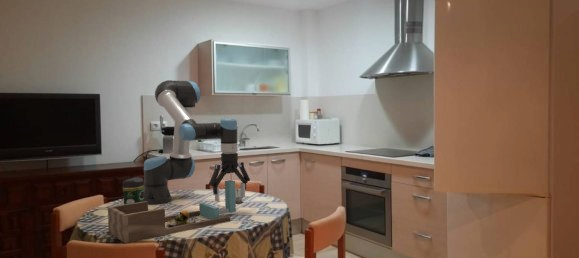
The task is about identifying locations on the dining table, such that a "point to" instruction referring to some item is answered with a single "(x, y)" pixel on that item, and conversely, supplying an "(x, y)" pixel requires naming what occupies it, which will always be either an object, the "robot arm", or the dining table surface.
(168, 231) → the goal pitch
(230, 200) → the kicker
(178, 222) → the burger
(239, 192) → the game die
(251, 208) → the dining table surface
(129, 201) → the coffee jar
